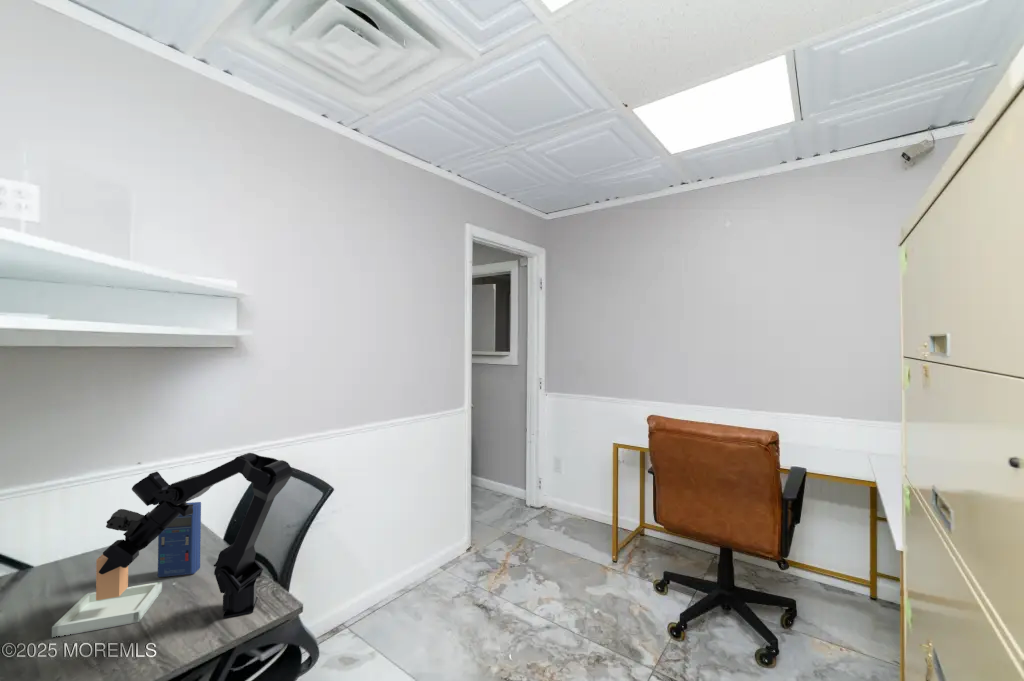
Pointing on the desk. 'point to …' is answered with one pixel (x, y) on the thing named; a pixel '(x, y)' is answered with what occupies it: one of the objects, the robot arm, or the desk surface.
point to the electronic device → (180, 545)
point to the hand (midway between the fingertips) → (105, 568)
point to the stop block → (110, 580)
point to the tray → (108, 610)
